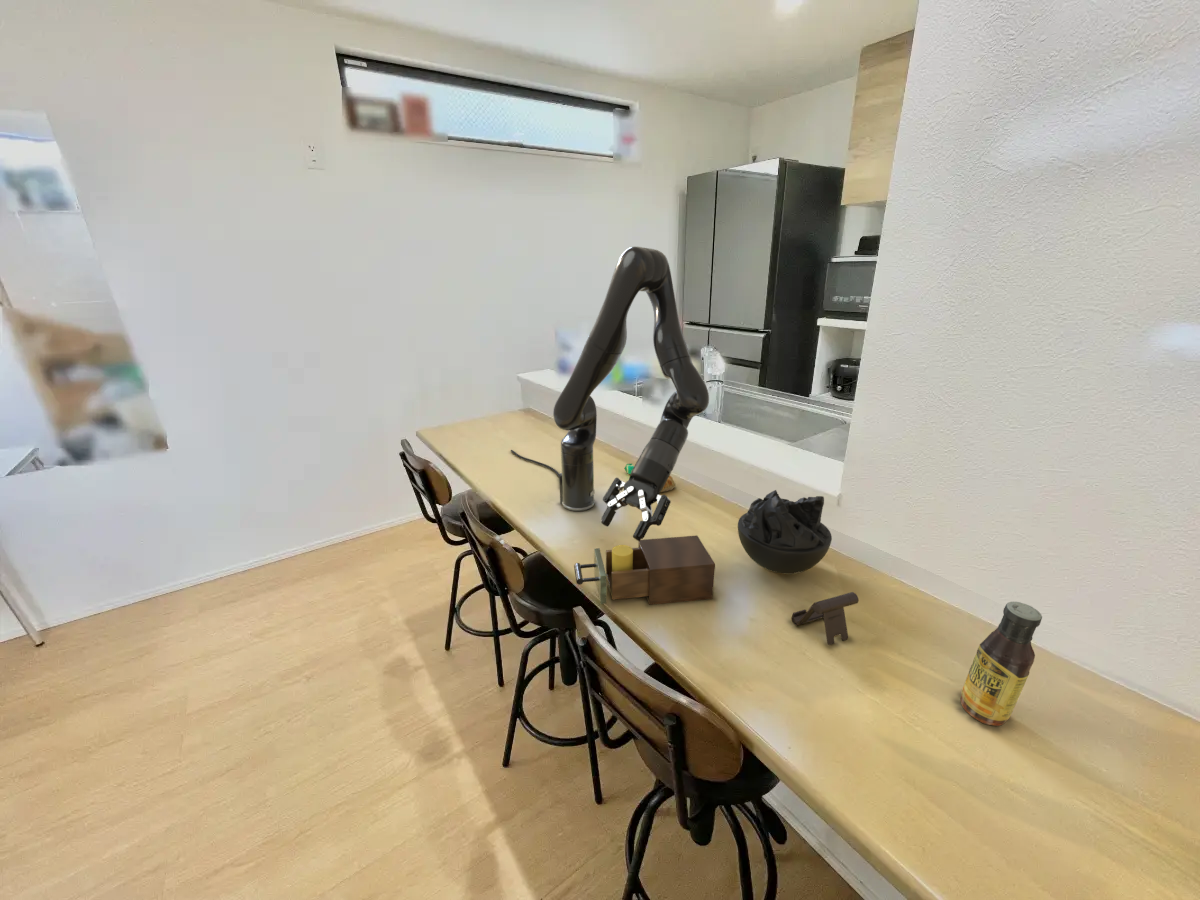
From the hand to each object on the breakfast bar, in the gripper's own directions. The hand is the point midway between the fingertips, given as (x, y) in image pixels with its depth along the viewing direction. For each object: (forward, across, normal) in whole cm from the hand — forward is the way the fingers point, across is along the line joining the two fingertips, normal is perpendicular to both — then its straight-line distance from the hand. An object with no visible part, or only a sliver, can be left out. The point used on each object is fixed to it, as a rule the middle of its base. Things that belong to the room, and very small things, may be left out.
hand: (619, 531), depth 101 cm
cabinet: (+4, +8, +17) cm, 19 cm away
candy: (-25, -34, +46) cm, 62 cm away
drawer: (+10, -1, +9) cm, 14 cm away
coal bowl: (-12, +22, +33) cm, 41 cm away
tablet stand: (-2, +37, +22) cm, 43 cm away
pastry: (-24, -24, +45) cm, 56 cm away
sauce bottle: (0, +62, +20) cm, 66 cm away
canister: (+8, 0, +9) cm, 13 cm away
